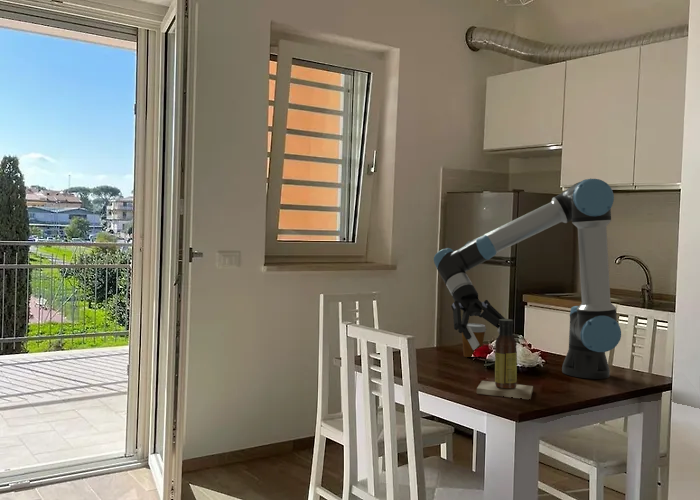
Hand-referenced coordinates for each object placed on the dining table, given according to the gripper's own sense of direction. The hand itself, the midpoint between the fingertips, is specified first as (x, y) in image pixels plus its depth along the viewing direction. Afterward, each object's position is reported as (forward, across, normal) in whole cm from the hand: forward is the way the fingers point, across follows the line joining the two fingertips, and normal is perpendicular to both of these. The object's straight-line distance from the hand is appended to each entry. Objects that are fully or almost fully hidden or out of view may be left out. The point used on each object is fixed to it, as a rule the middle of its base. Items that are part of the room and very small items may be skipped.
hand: (493, 346), depth 199 cm
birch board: (+13, 0, -5) cm, 14 cm away
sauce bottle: (+12, 0, -4) cm, 13 cm away
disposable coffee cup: (-20, -29, -38) cm, 52 cm away
